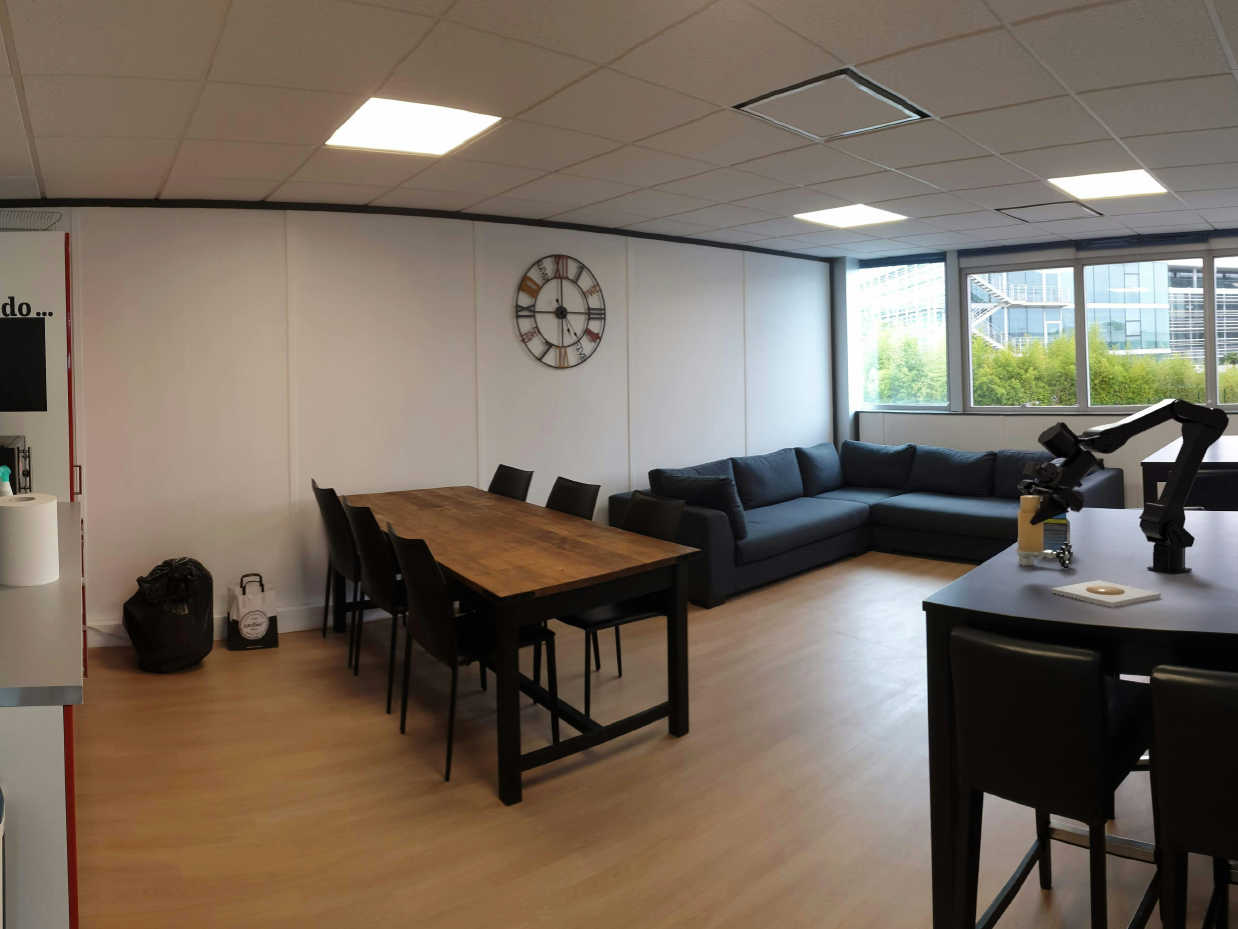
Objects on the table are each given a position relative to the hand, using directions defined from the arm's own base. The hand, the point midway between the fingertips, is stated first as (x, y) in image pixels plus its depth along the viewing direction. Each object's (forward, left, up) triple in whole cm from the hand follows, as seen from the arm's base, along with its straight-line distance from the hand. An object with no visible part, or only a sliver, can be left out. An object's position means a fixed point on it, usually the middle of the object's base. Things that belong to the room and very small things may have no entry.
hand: (1024, 522), depth 185 cm
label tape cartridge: (-28, -18, -14) cm, 36 cm away
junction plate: (-1, +19, -13) cm, 23 cm away
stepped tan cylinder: (-1, 0, -7) cm, 7 cm away
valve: (-14, -8, -14) cm, 21 cm away
